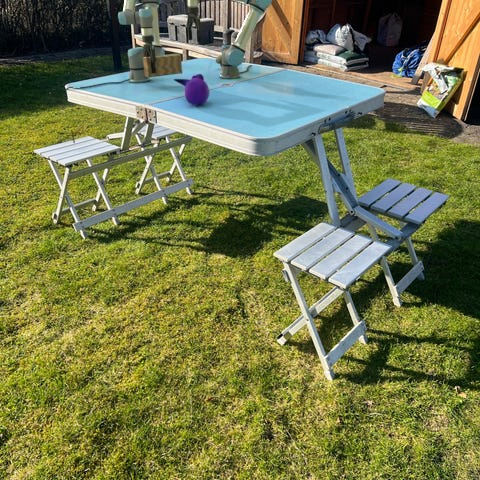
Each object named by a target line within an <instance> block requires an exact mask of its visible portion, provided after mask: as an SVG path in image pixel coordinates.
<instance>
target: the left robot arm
mask: <svg viewBox="0 0 480 480" xmlns="http://www.w3.org/2000/svg"><path fill="white" fill-rule="evenodd" d="M123 1H124V3H123V9H122V11H119V12H118V15H117V17H118V22H119V24H120V25H123V26H124V25H140V34H141V40H142V42H143V44H142V45H143V46H138V47H132V48H130V49H128V50H127V56H128V57H127V58H128V64H129V65H128V66H129V76H128V79H125V80H121V81H113V82H112V81H110V82H103V83H102V82H101V83H96V84H93V85H87V86H86V85H85V86H79V87H80V88H73V87H74V86H68V87H66V88H65V91H69V89H74V90H78V89H81V90H82V89H87V88H93V87H98V86H102V85H103V86H104V85H110V84H111V85H112V84H122V83H125V82H129V83H133V84H141V83H148V82H150V78H148V77H146V76H145V72H144V64H143V57H150V59H151V62H150V63H151V70H152V73H156V68H155V62H156V56H160V55H166V51H165V50H166V49H165V48H163V45H162V44H161V39H160V26H159V15H158V14H159V12H158V8H159V7H160V4H161V3H162V0H123ZM139 4H140V5H142V7H143V8H140V9H139V10H138V11H136V5H139ZM73 131H74V130H73V129H71V130H70V132H71V137H72V141H73V144H76V141H75V136H74V132H73Z"/></svg>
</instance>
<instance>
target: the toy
mask: <svg viewBox="0 0 480 480" xmlns="http://www.w3.org/2000/svg"><path fill="white" fill-rule="evenodd" d="M173 81H174V82H176V83H178V84H180V85H181V86H184V97H185V99H186V101H187V103H189V104H190V105H193V106H199V107H200V106H202V105H204V104H205V103H206V102H207V101H208V99H209V97H210V87H209V86H208V83H207V82H206V81H205V79H204V76H203V75H202V74H201V73H197V74H195V75H192V76H191V78H190V79H187V78H174V79H173Z"/></svg>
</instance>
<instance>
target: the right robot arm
mask: <svg viewBox="0 0 480 480" xmlns="http://www.w3.org/2000/svg"><path fill="white" fill-rule="evenodd" d="M231 1H232V2H239V3H243V4H244V5H248V7H249V10H248V13H247V15H246V17H245V18H244V21H243V23H242V25H241V28H240V30H239V32H238V34H237V36H236V38H235V40H234V41H233V42H231V44H226V45H221V51H220V52H221V56H222V67H221V69H220V74H219V77H220V79H223V80H224V79H225V80H235V79H239V78H241V74H244V73H247V72H248V71H249V67H252V64H251V65H248V66H247V67H246V69H247V70H244V71H239V66H241V65H242V64H243V63H244V60H245V54H246V52H247V49H246V47H247V45H248V43H249V41H250V39H251V36H252V35H253V32H254V30H255V28H256V26H257V24H258V22H259V20H260V17H261V16H262V15H265V12H266V11H267V9H268V8H269V7H270V6H271V5H272V2H273V0H231ZM199 3H200V2H199V0H186V6H187V13H188V14H187V20H186V26H185V29H186V30H187V36H188V37H187V38H188V41H193V25H194V27H195V29H196V42H197V43H201V42H202V31H203V26H202V21H201V16H200V15H198V14H199V13H200V8H199Z"/></svg>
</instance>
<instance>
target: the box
mask: <svg viewBox="0 0 480 480" xmlns="http://www.w3.org/2000/svg"><path fill="white" fill-rule="evenodd" d="M150 62H151V59H150V57H143V64H144V72H145V76H146V77H148V78H149V79H150V78H157V77H164V76H166V77H167V76H173V75H181V74H183V67H182V55H181V54H179V53H171V54H165V55H160V56H156V62H155V68H156V73H152V70H151V63H150Z"/></svg>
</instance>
